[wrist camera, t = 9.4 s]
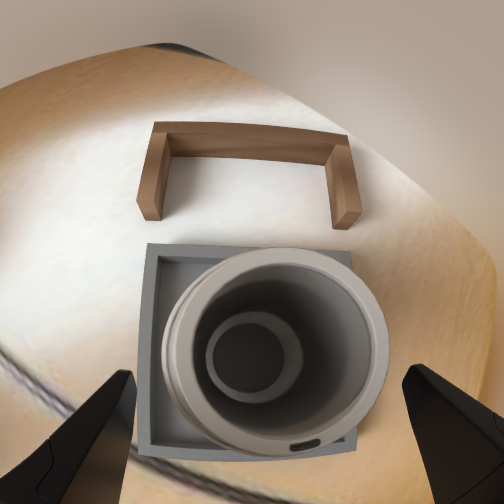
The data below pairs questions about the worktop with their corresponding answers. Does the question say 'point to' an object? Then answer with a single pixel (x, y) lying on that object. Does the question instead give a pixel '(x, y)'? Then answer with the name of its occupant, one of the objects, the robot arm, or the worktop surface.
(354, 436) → the tray
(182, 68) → the worktop surface
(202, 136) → the cubby
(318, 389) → the cup
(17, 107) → the worktop surface
